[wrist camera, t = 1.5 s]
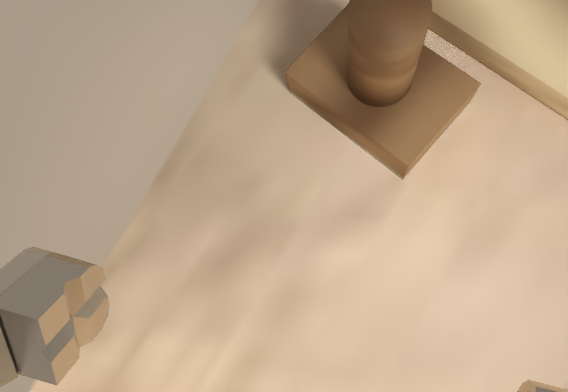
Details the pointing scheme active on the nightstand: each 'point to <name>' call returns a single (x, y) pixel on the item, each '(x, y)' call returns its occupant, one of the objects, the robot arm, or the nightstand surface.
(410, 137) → the wooden stamp
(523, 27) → the board
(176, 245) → the nightstand surface
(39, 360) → the robot arm
